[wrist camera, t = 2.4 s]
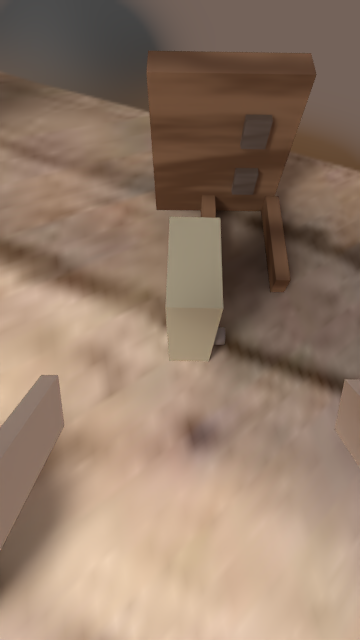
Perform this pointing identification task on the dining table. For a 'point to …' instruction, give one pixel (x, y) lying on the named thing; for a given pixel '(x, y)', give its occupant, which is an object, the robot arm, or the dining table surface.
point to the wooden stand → (227, 134)
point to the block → (194, 288)
